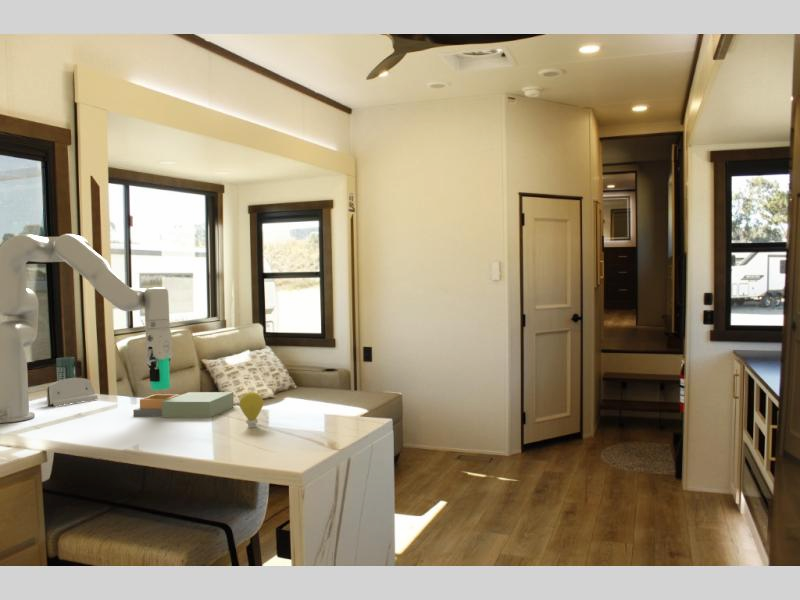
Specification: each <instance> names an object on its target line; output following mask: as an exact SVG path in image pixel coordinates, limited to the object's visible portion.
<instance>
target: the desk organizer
mask: <svg viewBox="0 0 800 600" xmlns="http://www.w3.org/2000/svg"><path fill="white" fill-rule="evenodd" d="M232 408H234V392H232V391H226V392H225V391H221V392H220V391H212V392H211V391H209V392H208V391H205V392H204V391H199V392H198V391H188V392H186V393H183V394H174V393H173V394H170V393H168V394H165V393H164V394H160V393H159V394H152V395H149V396H146V397H143V398H140V399H139V407H138V408H135V409H133V417H162V418H164V419H165V418H166V419H168V418H169V419H170V418H172V419H173V418H175V419H177V418H179V419H181V418H184V419H186V418H188V419H189V418H191V419H192V418H193V419H195V418H196V419H200V418H201V419H203V418H204V419H208V418H209V419H211V418H213V417H215V416H217V415H219V414H221V413H224V412H226V411H228V410H230V409H232Z"/></svg>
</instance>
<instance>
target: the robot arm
mask: <svg viewBox="0 0 800 600" xmlns="http://www.w3.org/2000/svg"><path fill="white" fill-rule="evenodd" d="M28 262H35V263H60V262H61V263H63V262H65V263H66V264H67V265H68V266H70V267H71V268H72V269H73V270H74V271H76V272H77V274H80V275H81V276H82V277H83V278H84V279H86V280H87V282H88V283H90V285H91V286H92V287H93V289H95V290H96V291H97V292H98V293H99V294H100V295H101V296H102V297H103V298H104V299H106V300H107V301H108V302H109V303H111V305H113V306H115V307H116V308H117V309H119V310H120V311H123V312H133V311H135V312H136V311H141V310H144V325H145V326H144V327H145V338H144V339H145V340H144V341H145V343H144V345H145V346H144V350H145V351H144V353H145V358H144V361H145V363H146V365H147V366H148V367H147V368H148V371H149V382H150V383H151V382H158V381H160V372H159V369H158V365H159V360H164V359H166V357H169V367H170V362H171V358H173V356H174V348H173V346H174V345H173V338H172V333H171V332H172V331H171V327H170V326H171V325H170V301H169V299H170V298H169V290H168V289H167V288H166V287H149V288H142V287H141V288H140V287H130V286H129V285H127V284H126V283H125V282H124V281H122V280H121V279H120V278H119V277H118V276H117V275H116V274H115V273H114V272H113V270H112V269H111V266H110V264H109V262H108V261H107V260H106V259H105V258H103V257H102V256H101V255H100V254H99V253H98V252H96V251H95V250H94V249H93V248H92V247H91V244H90V243H89V241H88V240H87V239H86V238H84V237H83V236H81V235H77V234H73V233H64V234H62V235H60V236H41V235H35V234H30V233H29V234H28V233H26V234H25V233H22V234H18V235H14V236H11V237H10V238H8V239H7V240H5V241H4V242H3V243H2V245H0V315H1V316H3V317H6V320H5V321H0V424H5V423H15V422H22V421H26V420H31V419H33V418H35V417H36V416H35V415H36V414H35V412H33V411H32V412H31V411H30V405H29V401H30V400H29V383H28V382H29V379H28V378H29V376H28V374H29V373H28V361H27V355H26V351H25V348H28V347H30V346H31V345H32V344H33V343H35V341H36V338H37V335H38V327H39V325H38V324H39V309H40V308H39V299H38V296H37V294H36V293H35V292H34V291H33V290H32V289H30V288H28V287H27V285H28V284H27V281H28V270H27V268H26V267H27V265H26V264H27V263H28ZM152 358H154V359H152ZM154 362H155V364H154Z"/></svg>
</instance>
